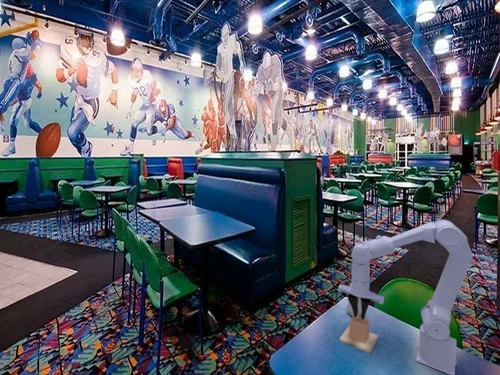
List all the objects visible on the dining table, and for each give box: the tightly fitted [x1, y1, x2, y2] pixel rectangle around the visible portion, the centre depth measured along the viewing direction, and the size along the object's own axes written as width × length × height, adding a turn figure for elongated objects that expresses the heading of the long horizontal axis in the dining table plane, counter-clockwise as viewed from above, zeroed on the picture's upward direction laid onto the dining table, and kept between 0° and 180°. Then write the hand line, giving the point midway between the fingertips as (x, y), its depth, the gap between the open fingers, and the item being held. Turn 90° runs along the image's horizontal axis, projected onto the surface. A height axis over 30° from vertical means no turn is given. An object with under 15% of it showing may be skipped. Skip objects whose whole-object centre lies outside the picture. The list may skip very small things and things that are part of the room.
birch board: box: [339, 325, 379, 355], centre depth 91 cm, size 10×10×1 cm
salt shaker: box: [346, 283, 362, 317], centre depth 106 cm, size 6×6×13 cm
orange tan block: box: [348, 315, 370, 344], centre depth 91 cm, size 5×5×6 cm
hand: (359, 316), depth 90 cm, fingers closed
